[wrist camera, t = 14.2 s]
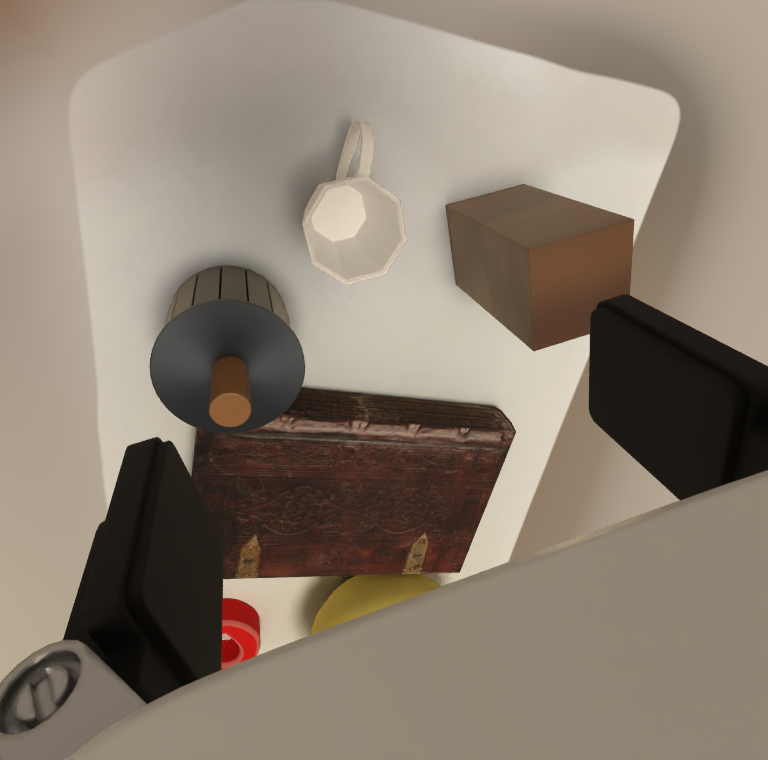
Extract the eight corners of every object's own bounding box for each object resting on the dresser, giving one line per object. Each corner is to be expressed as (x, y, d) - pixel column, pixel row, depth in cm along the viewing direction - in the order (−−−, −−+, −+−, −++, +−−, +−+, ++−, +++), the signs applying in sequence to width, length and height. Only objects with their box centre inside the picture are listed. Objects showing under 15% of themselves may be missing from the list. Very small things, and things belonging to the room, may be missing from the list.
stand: (445, 205, 42) (528, 249, 30) (523, 183, 43) (634, 219, 31) (455, 284, 46) (533, 351, 34) (527, 263, 47) (628, 322, 35)
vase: (422, 518, 59) (495, 679, 43) (457, 607, 69) (527, 766, 53) (272, 583, 58) (289, 774, 42) (330, 665, 68) (361, 845, 51)
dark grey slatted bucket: (150, 283, 39) (131, 326, 32) (267, 252, 40) (275, 286, 33) (196, 383, 44) (189, 440, 37) (300, 352, 45) (313, 402, 38)
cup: (283, 246, 41) (294, 277, 34) (302, 105, 36) (319, 109, 30) (368, 259, 43) (395, 291, 36) (395, 128, 39) (431, 137, 32)
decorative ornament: (257, 592, 58) (258, 616, 55) (261, 646, 63) (262, 671, 60) (165, 606, 56) (162, 633, 53) (176, 662, 60) (174, 689, 57)
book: (496, 404, 54) (519, 431, 49) (443, 539, 62) (459, 572, 57) (202, 376, 44) (198, 406, 40) (184, 540, 52) (180, 580, 48)
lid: (123, 324, 32) (104, 363, 27) (279, 280, 33) (287, 311, 29) (186, 447, 37) (180, 497, 33) (319, 405, 38) (332, 448, 34)
